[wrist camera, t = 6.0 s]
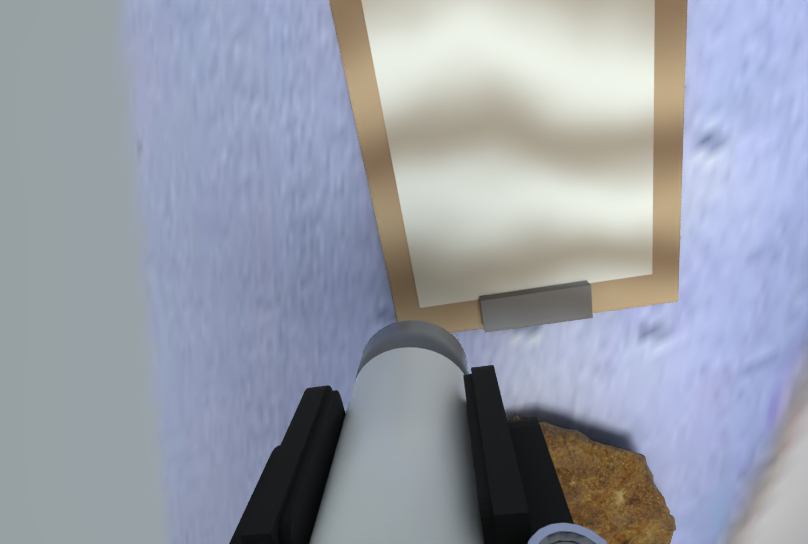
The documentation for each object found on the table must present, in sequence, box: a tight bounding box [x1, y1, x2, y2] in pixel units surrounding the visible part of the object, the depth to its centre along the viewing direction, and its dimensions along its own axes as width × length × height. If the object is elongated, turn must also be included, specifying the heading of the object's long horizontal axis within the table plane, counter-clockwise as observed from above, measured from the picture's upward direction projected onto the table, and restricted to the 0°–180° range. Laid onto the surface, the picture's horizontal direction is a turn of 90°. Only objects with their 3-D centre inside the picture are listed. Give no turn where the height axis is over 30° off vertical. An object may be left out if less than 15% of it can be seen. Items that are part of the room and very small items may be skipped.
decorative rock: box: [513, 415, 676, 544], centre depth 28 cm, size 11×4×15 cm
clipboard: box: [329, 0, 687, 333], centre depth 22 cm, size 20×16×2 cm
